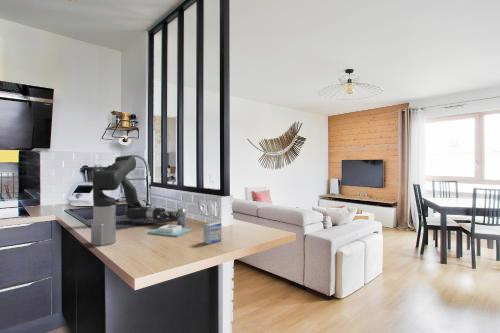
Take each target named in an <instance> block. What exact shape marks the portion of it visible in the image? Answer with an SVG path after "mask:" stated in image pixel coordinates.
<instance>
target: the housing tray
mask: <svg viewBox="0 0 500 333" xmlns="http://www.w3.org/2000/svg"><path fill="white" fill-rule="evenodd" d="M192 231H193V229H192V228H187V227H186V228H184V227H182V226H179V225H177V224H165V225H163V226H160V227H158V228H156V229H155V228H154V229H152V230H149V231H147V234H148V235H153V236H154V235H156V236H163V237H164V236H165V237H173V238H179V237H181V236H184V235H186V234H188V233H190V232H191V233H192Z"/></svg>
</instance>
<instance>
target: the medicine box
mask: <svg viewBox="0 0 500 333" xmlns="http://www.w3.org/2000/svg"><path fill="white" fill-rule="evenodd" d="M202 231H203V235H202V236H203V237H202V238H203V239H202V240H203V243H204V244H207V245H212V244H216V243H218V242H222V223H221V222H219V221H218V222H217V221H216V222H215V221H214V222H210V223H207V224H203V230H202Z"/></svg>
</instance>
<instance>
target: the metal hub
mask: <svg viewBox="0 0 500 333" xmlns="http://www.w3.org/2000/svg"><path fill="white" fill-rule="evenodd" d="M176 211H177V216H176V217H177V221H176V222H177V224H176V225H179V226H182V228H184V227H186V208H177V210H176Z"/></svg>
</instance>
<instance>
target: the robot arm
mask: <svg viewBox="0 0 500 333" xmlns="http://www.w3.org/2000/svg"><path fill="white" fill-rule="evenodd" d="M136 167H137V160H136V158H135V156H133V155H121V156H117V157H115V161H114V162H113V163H112V164H111V165H110V166H109V167H108V169H107V170H102V169H101V170H100V169H99V170H95V171H94V172H93V174H92V180H91V182H92V201H93V202H92V203H93V214H92V215H93V216H92V218H93V219H92V220H93V222H91V224H90V226H91V227H90V228H91V230H90V245H93V246H99V247H100V246H101V247H102V246H106V245H111V244H115V243H116V241H117V239H116V235H117V233H116V232H117V231H116V230H117V229H116V228H117V222H116V221H117V212H116V211H117V200H116V198H114V197H112V196H109V195H106V193H104V191H115V190H118V188H119V186H120V185H121V186H122V187H121V188H122V189H123V194H124V199H125V203H126V204H127V205H131V207H129V208H127V209H126V211H125V214H124V215H125V217H126V218H127V219H129V220H141V219H144V220H151V221H152V220H153V221H160V222H161V221H164V220H169V219H170V220H174V219H176V217H177V211H178V210H166V209H165V208H164V207H155V206H154V207H149V206H147V207H145V206H144V207H143V206H142V204H141V203H140V201H139V197H138V193H137V189H136V187H135V186H134V184H133V183H132V182H131V181H130V180H129V179H128V178H127V176H128V175H129V174H130V172H132V171H134V170H136Z"/></svg>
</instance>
